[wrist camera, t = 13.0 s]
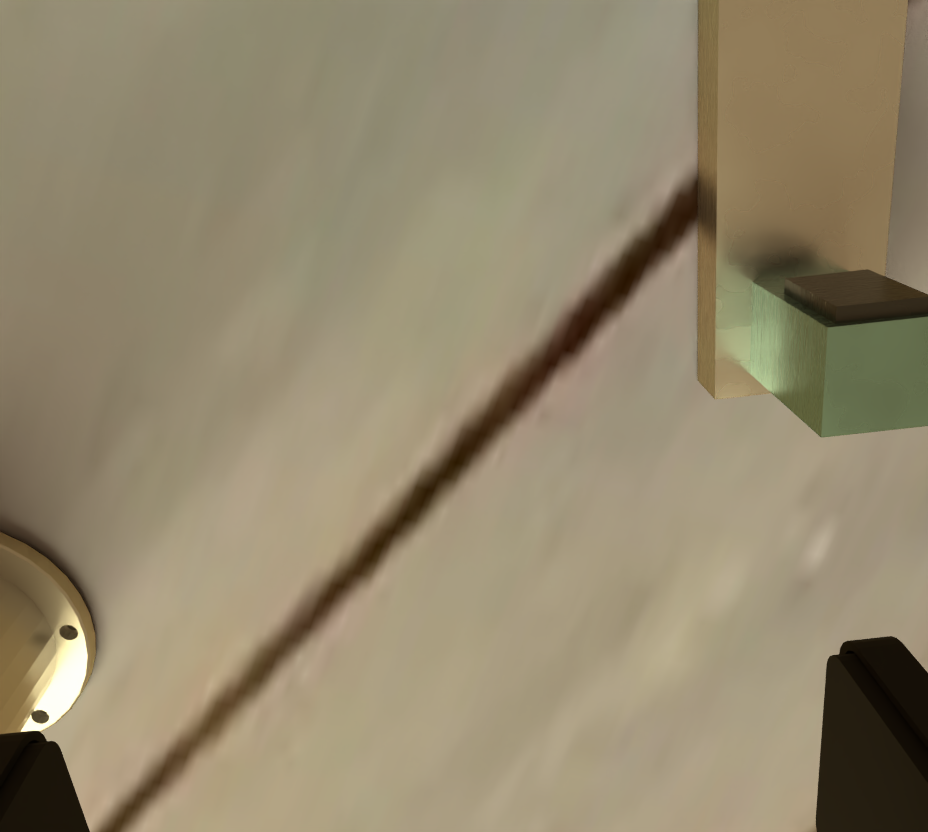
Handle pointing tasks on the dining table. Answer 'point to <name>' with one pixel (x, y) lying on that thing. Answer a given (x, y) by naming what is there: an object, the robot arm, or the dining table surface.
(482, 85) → the dining table surface
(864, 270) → the rail
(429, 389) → the dining table surface
